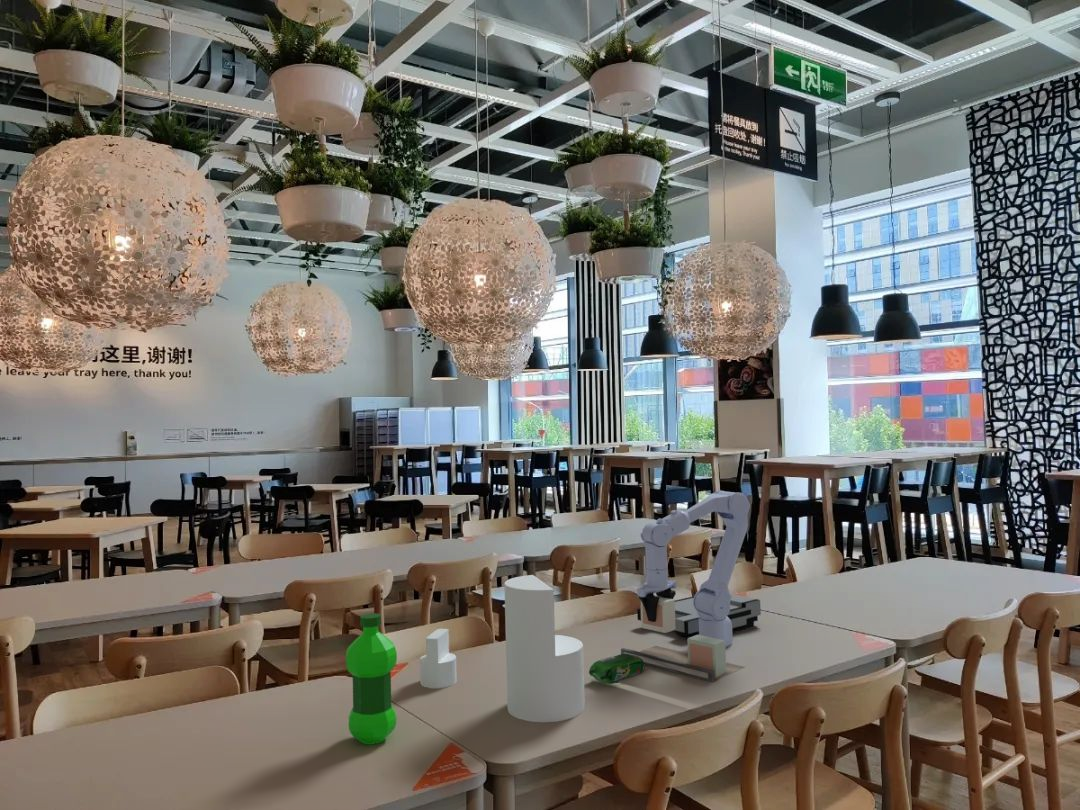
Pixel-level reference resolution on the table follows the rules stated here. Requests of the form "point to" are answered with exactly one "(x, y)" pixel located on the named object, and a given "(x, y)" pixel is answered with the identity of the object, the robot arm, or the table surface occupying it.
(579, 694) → the white stepped round block
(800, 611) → the table surface
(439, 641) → the white stepped half-round block
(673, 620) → the cream carton
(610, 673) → the snack package
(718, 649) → the sage carton
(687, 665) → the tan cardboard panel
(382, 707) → the plastic bottle
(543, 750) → the table surface
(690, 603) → the game console
